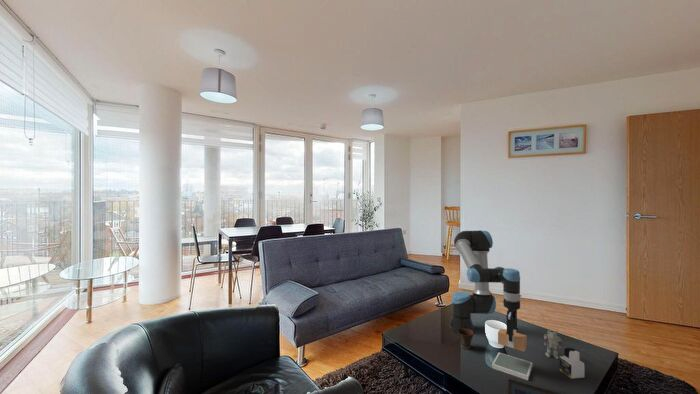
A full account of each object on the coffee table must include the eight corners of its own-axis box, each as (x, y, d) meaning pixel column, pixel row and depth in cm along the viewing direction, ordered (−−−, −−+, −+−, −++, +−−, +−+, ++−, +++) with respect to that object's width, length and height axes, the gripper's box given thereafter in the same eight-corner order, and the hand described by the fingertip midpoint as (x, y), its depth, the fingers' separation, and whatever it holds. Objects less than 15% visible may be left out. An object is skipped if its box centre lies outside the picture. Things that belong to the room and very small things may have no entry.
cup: (475, 343, 173) (474, 327, 172) (474, 352, 165) (473, 336, 163) (459, 340, 177) (458, 325, 175) (458, 350, 168) (457, 334, 167)
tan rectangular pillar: (498, 343, 151) (498, 332, 151) (500, 339, 156) (500, 328, 155) (524, 351, 143) (524, 339, 143) (526, 347, 148) (526, 335, 147)
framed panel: (492, 368, 150) (491, 363, 149) (498, 355, 160) (498, 351, 160) (528, 380, 139) (528, 375, 139) (532, 366, 150) (532, 362, 150)
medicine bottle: (559, 369, 147) (559, 346, 147) (572, 368, 148) (572, 345, 147) (571, 378, 140) (571, 354, 140) (584, 377, 140) (584, 353, 140)
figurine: (564, 358, 156) (564, 331, 156) (556, 362, 153) (555, 334, 153) (548, 351, 164) (548, 325, 163) (540, 355, 160) (540, 328, 160)
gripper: (516, 307, 140) (516, 354, 140) (523, 296, 154) (523, 339, 154) (499, 303, 144) (499, 349, 145) (507, 293, 159) (508, 335, 159)
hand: (512, 344), depth 149 cm, fingers closed on tan rectangular pillar, 6 cm apart
